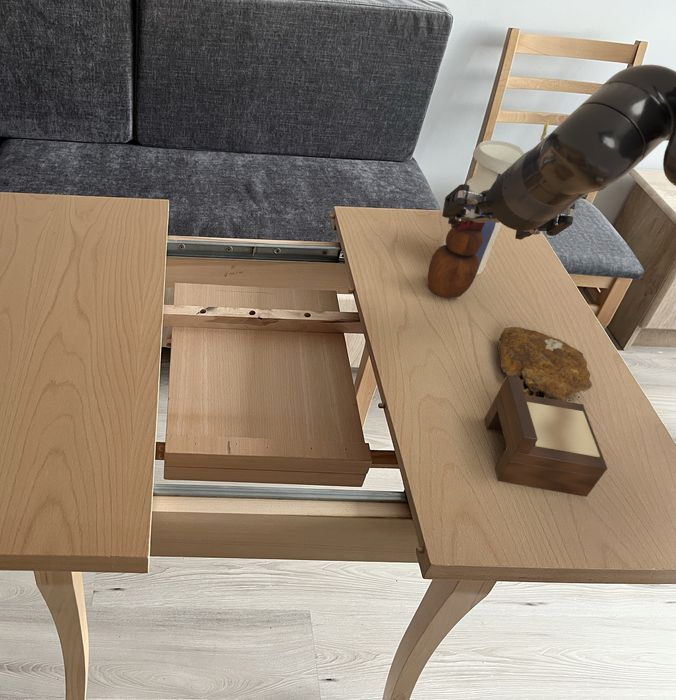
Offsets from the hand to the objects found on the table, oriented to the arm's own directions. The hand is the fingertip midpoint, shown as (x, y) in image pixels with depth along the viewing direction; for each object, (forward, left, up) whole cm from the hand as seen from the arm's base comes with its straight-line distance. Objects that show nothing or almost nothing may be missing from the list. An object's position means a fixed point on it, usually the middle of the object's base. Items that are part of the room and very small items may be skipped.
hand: (486, 226), depth 92 cm
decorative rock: (-11, +11, -15) cm, 22 cm away
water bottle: (-4, -16, -15) cm, 23 cm away
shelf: (-7, +26, -15) cm, 31 cm away
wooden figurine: (0, -6, -15) cm, 17 cm away
